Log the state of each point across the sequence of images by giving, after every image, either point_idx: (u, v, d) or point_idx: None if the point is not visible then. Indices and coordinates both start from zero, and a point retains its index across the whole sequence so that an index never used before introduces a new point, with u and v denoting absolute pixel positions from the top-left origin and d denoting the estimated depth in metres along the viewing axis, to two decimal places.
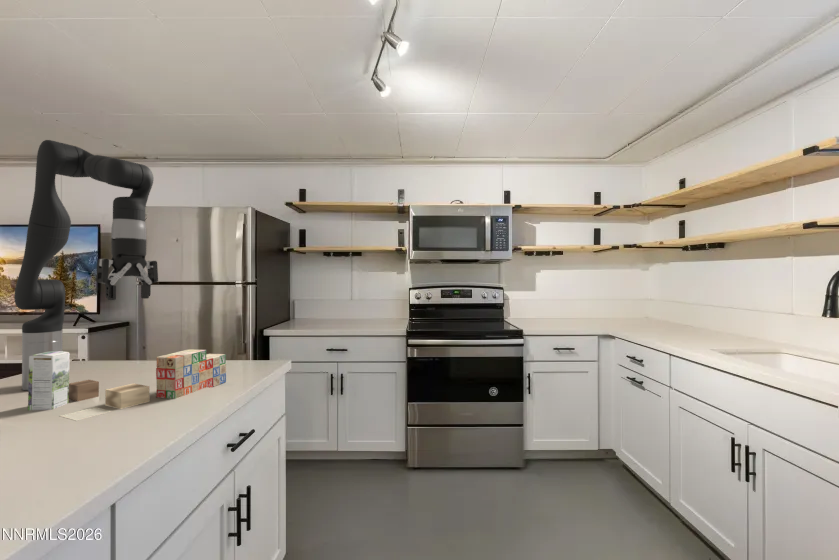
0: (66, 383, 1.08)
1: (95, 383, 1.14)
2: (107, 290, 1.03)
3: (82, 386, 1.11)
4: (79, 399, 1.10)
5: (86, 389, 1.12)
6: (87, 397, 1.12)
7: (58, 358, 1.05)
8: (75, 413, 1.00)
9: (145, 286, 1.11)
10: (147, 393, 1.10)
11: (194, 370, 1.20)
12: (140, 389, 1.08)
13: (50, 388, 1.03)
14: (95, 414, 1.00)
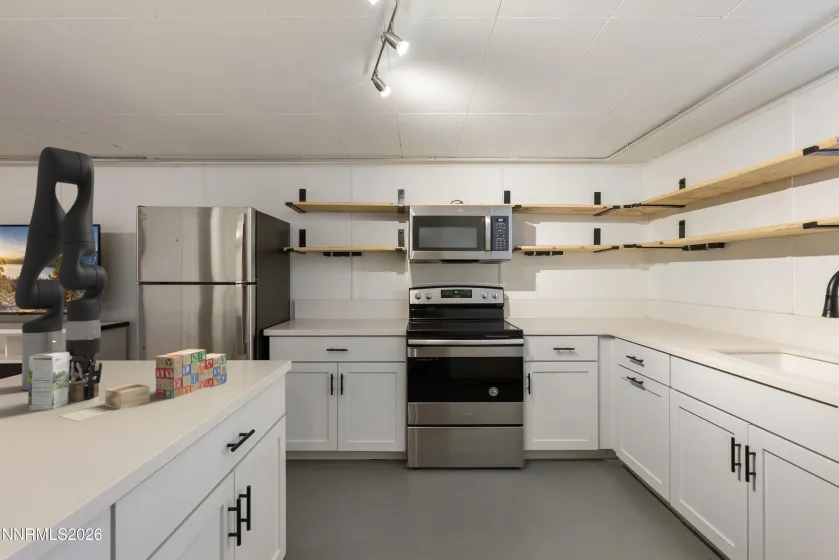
0: (66, 383, 1.08)
1: None
2: (91, 390, 1.12)
3: (82, 386, 1.11)
4: (79, 399, 1.10)
5: None
6: None
7: (59, 358, 1.05)
8: (75, 413, 1.00)
9: None
10: (147, 393, 1.10)
11: (194, 369, 1.20)
12: (140, 389, 1.08)
13: (50, 388, 1.03)
14: (95, 414, 1.00)
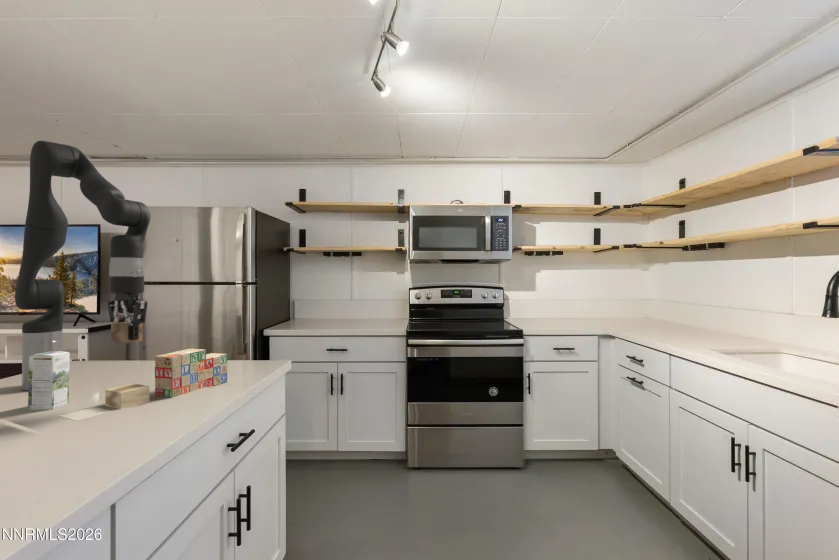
0: (66, 383, 1.08)
1: None
2: (136, 330, 1.07)
3: (126, 325, 1.06)
4: (124, 338, 1.06)
5: None
6: None
7: (59, 358, 1.05)
8: (75, 413, 1.00)
9: None
10: (147, 393, 1.10)
11: (193, 369, 1.21)
12: (140, 389, 1.08)
13: (50, 388, 1.03)
14: (95, 414, 1.00)
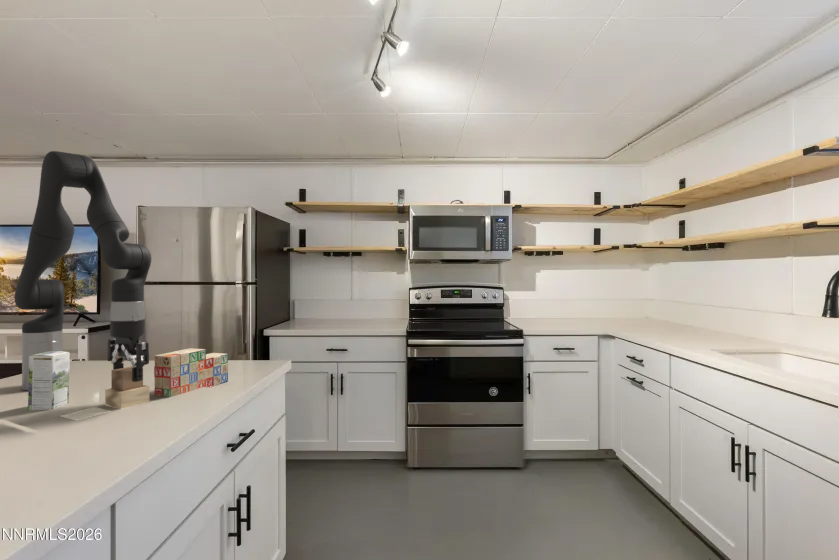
0: (66, 383, 1.08)
1: None
2: (139, 372, 1.07)
3: (127, 372, 1.06)
4: (124, 386, 1.06)
5: (130, 376, 1.07)
6: (132, 384, 1.08)
7: (59, 358, 1.05)
8: (75, 413, 1.00)
9: (121, 365, 1.11)
10: (147, 393, 1.10)
11: (192, 369, 1.21)
12: (140, 389, 1.08)
13: (50, 388, 1.03)
14: (95, 414, 1.00)
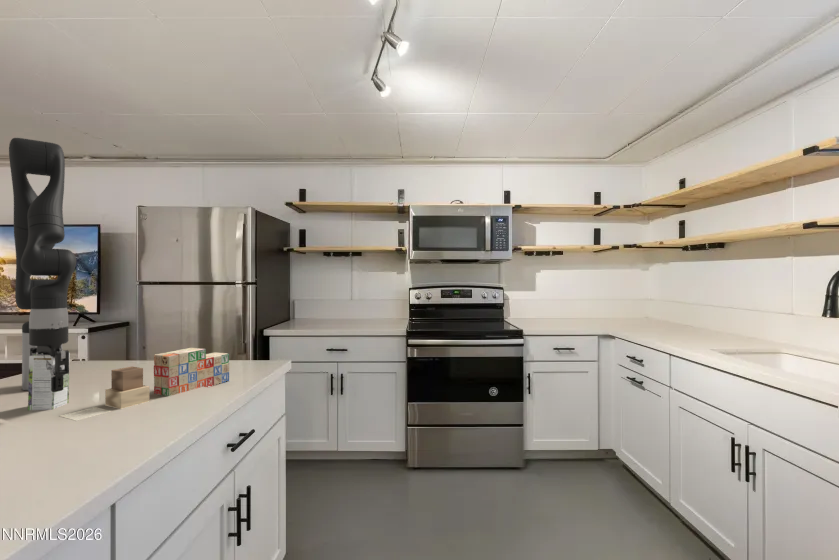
0: (66, 383, 1.08)
1: (139, 370, 1.09)
2: (59, 381, 1.03)
3: (127, 372, 1.06)
4: (124, 386, 1.06)
5: (130, 376, 1.07)
6: (132, 384, 1.08)
7: None
8: (75, 413, 1.00)
9: None
10: (147, 393, 1.10)
11: (192, 368, 1.22)
12: (140, 389, 1.08)
13: (50, 388, 1.03)
14: (95, 414, 1.00)
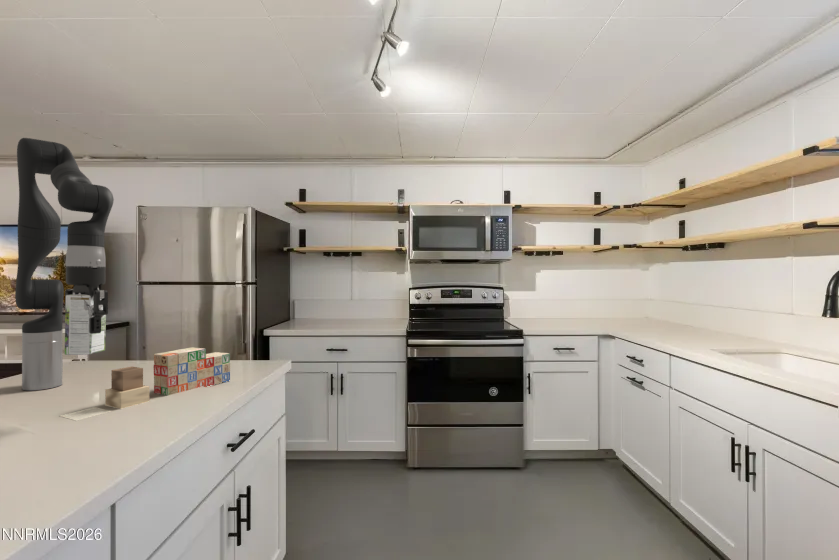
0: (103, 327, 1.02)
1: (139, 370, 1.09)
2: (97, 323, 0.98)
3: (127, 372, 1.06)
4: (124, 386, 1.06)
5: (130, 376, 1.07)
6: (132, 384, 1.08)
7: None
8: (75, 413, 1.00)
9: None
10: (147, 393, 1.10)
11: (191, 368, 1.23)
12: (140, 389, 1.08)
13: (88, 329, 0.98)
14: (95, 414, 1.00)
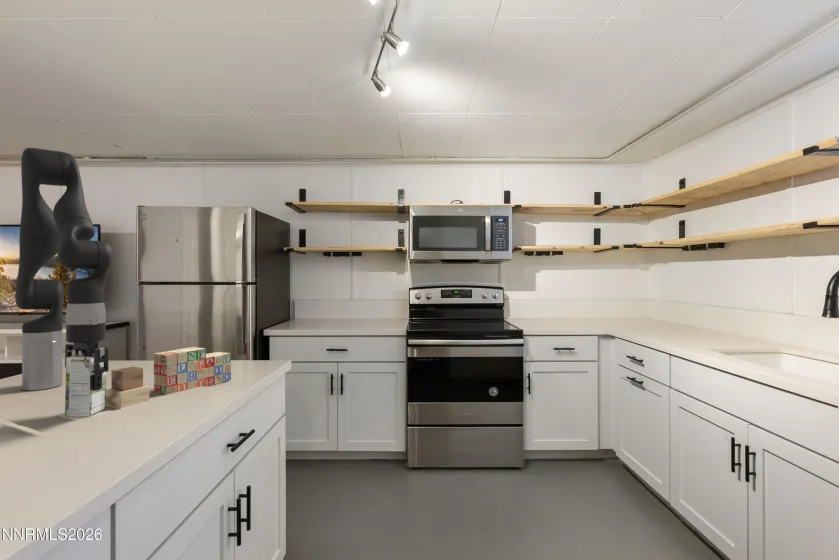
0: (103, 386, 1.02)
1: (139, 370, 1.09)
2: (98, 380, 0.98)
3: (127, 372, 1.06)
4: (124, 386, 1.06)
5: (130, 376, 1.07)
6: (132, 384, 1.08)
7: None
8: None
9: None
10: (147, 393, 1.10)
11: (191, 367, 1.23)
12: (140, 389, 1.08)
13: (88, 391, 0.98)
14: (95, 414, 1.00)
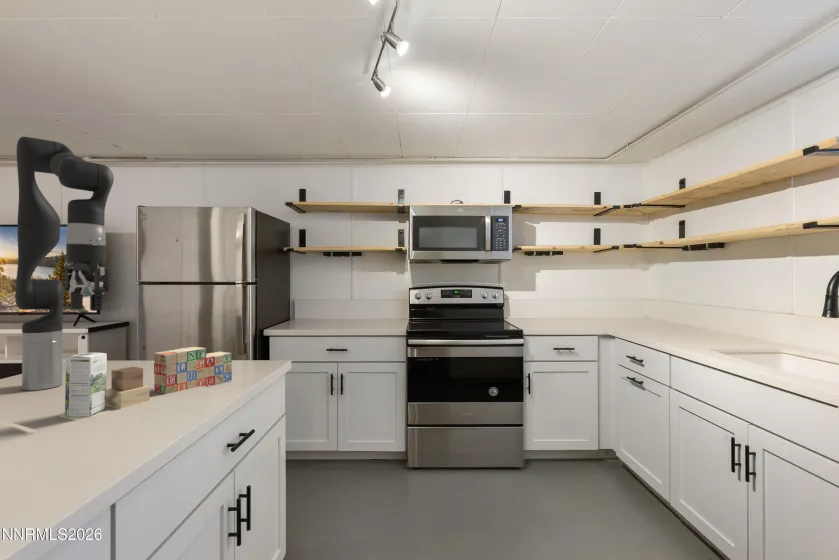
0: (103, 386, 1.02)
1: (139, 370, 1.09)
2: (98, 300, 0.98)
3: (127, 372, 1.06)
4: (124, 386, 1.06)
5: (130, 376, 1.07)
6: (132, 384, 1.08)
7: (96, 360, 1.00)
8: None
9: (80, 295, 1.02)
10: (147, 393, 1.10)
11: (191, 367, 1.24)
12: (140, 389, 1.08)
13: (88, 391, 0.98)
14: (95, 414, 1.00)
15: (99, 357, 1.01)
